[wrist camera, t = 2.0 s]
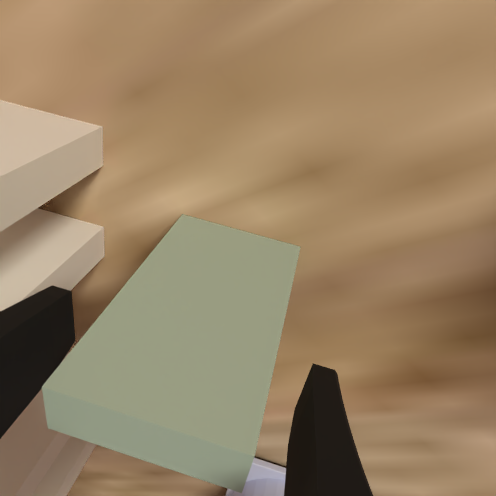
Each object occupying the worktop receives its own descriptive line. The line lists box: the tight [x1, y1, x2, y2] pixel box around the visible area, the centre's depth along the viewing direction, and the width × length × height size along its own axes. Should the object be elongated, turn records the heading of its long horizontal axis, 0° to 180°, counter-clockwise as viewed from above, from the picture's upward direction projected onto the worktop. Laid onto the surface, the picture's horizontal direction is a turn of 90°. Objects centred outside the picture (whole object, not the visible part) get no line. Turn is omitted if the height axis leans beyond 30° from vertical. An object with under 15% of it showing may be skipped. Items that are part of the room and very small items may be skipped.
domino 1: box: [32, 436, 96, 496], centre depth 22 cm, size 2×5×9 cm, turn 79°
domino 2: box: [0, 352, 70, 496], centre depth 20 cm, size 2×5×9 cm, turn 79°
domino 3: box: [42, 214, 300, 493], centre depth 13 cm, size 2×5×9 cm, turn 79°
